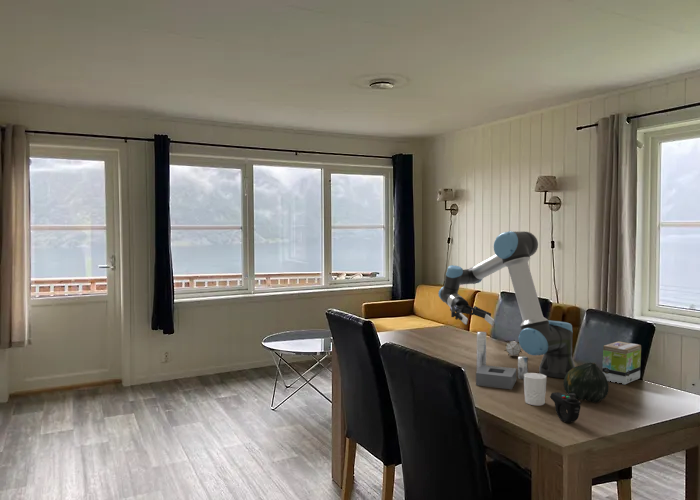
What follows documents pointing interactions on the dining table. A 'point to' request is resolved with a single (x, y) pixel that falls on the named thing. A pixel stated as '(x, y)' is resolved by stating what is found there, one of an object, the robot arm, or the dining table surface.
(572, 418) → the controller
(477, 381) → the charcoal collar block
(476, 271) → the robot arm
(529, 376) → the white cup
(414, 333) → the dining table surface
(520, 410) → the dining table surface
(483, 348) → the long steel pin
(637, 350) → the tea box
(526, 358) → the short steel pin
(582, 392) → the squash
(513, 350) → the game die
